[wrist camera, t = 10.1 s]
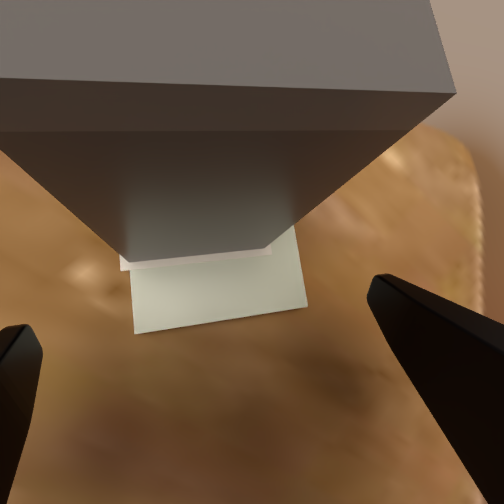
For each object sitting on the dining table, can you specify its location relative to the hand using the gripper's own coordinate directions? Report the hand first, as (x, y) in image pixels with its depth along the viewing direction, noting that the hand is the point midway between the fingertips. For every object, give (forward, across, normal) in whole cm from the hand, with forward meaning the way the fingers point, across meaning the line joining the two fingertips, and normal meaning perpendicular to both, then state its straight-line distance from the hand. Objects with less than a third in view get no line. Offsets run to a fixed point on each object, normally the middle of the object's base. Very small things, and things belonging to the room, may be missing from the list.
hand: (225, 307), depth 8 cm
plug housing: (+9, 0, +2) cm, 9 cm away
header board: (+10, -1, +3) cm, 10 cm away
